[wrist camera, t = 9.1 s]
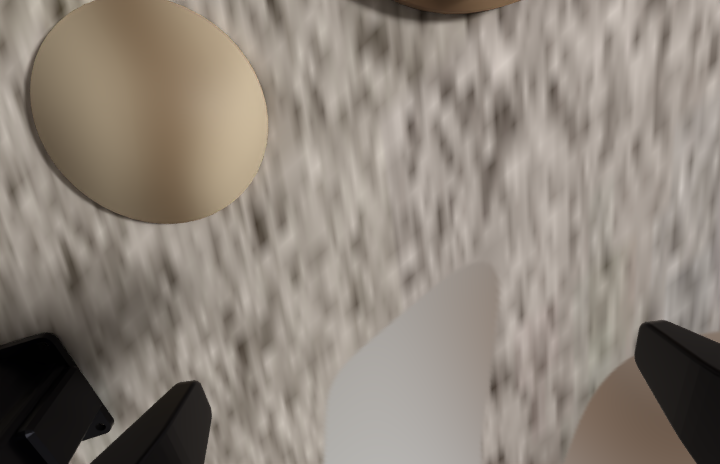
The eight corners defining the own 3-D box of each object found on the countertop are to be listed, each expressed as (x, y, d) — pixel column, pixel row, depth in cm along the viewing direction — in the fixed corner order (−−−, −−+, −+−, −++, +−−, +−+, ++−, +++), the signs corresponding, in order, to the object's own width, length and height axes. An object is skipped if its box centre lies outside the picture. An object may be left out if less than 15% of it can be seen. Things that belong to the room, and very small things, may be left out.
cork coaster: (106, 243, 19) (102, 248, 19) (-13, 33, 16) (-22, 32, 15) (295, 187, 19) (295, 190, 19) (221, -32, 16) (218, -35, 15)
